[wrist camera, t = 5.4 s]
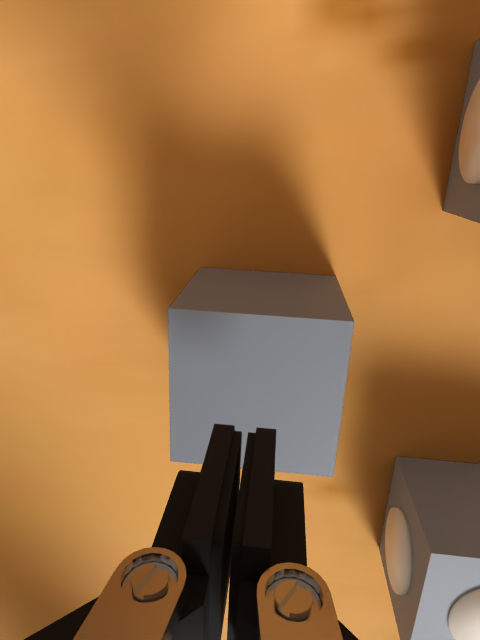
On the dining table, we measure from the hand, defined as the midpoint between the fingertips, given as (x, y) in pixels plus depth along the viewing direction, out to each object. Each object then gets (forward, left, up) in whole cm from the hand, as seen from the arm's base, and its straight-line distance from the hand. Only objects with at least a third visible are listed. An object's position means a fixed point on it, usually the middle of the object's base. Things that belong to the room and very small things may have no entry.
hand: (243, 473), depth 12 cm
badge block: (-9, -10, -10) cm, 17 cm away
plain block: (0, 0, -10) cm, 10 cm away
